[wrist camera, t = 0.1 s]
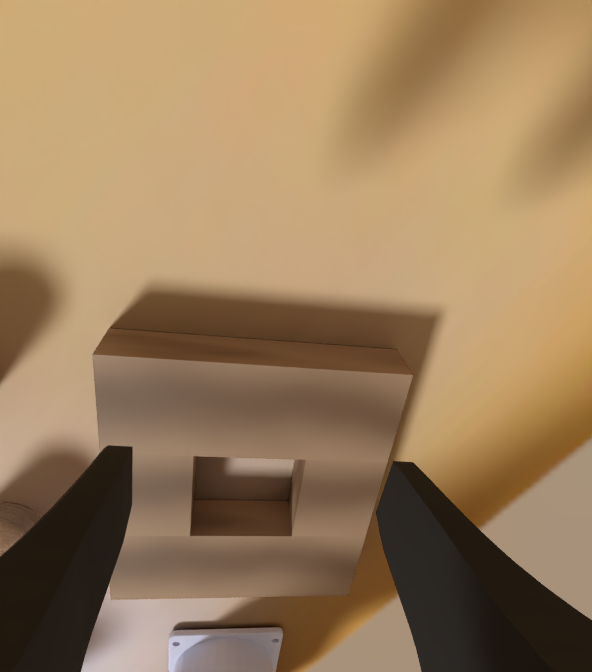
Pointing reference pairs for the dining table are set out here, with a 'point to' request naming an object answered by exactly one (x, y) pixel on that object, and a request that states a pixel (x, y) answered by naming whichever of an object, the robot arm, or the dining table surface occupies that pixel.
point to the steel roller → (14, 523)
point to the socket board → (246, 442)
